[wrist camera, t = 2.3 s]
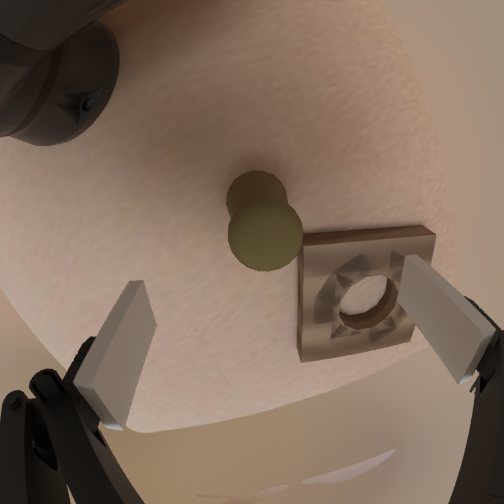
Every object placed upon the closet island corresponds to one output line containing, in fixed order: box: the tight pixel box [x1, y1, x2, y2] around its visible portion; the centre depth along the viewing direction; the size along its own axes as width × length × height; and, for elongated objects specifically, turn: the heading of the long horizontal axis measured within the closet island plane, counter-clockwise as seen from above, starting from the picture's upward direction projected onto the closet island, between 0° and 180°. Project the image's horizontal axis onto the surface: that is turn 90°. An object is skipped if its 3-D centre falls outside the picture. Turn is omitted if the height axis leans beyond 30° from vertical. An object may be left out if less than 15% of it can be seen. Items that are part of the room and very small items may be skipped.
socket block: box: [297, 225, 436, 363], centre depth 32 cm, size 16×16×3 cm
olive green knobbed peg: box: [227, 171, 303, 271], centre depth 23 cm, size 6×6×11 cm
